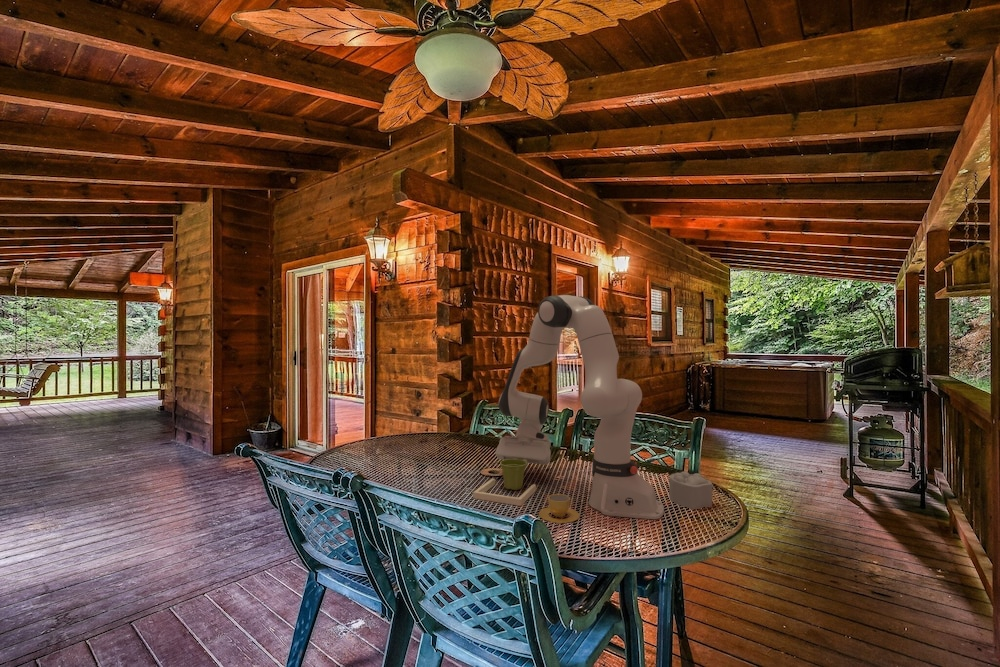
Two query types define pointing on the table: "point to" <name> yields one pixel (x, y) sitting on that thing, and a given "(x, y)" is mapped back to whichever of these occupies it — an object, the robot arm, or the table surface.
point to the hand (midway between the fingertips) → (517, 471)
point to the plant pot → (513, 473)
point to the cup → (559, 509)
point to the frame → (501, 498)
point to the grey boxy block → (690, 490)
